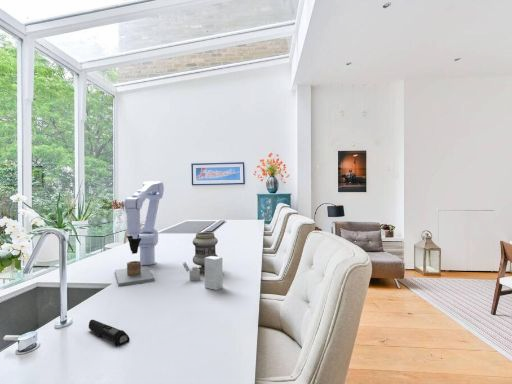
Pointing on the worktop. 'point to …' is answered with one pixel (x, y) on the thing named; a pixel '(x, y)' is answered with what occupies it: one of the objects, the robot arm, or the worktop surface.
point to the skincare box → (213, 272)
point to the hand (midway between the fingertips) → (133, 251)
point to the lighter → (193, 272)
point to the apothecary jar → (204, 248)
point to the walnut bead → (133, 268)
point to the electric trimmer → (109, 332)
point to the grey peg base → (133, 277)
